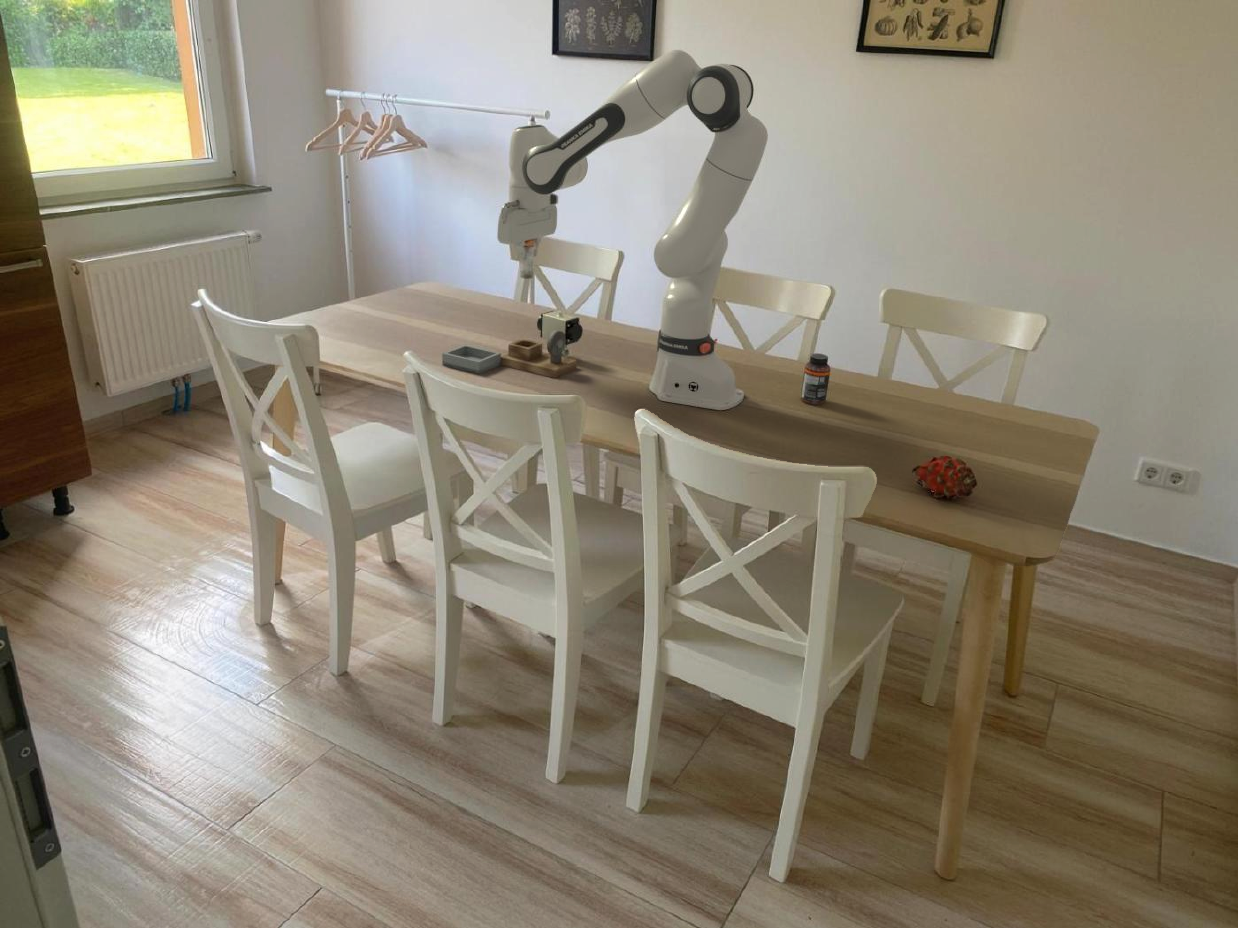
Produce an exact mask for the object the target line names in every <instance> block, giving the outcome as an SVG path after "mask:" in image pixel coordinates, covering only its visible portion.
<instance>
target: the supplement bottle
mask: <svg viewBox="0 0 1238 928" xmlns="http://www.w3.org/2000/svg"><path fill="white" fill-rule="evenodd" d="M828 359H829V356H828V355H826V354H823V353H812V354H811V355H810V358H809V362H806V364H805V366H804V372H803V378H802V384H801V392H800V400H801V401H802V402H803V403H804V404H808V405H812V406H813V405H814V406H820V405H823V404H825V403H826V400H827V397H828V396H827V395H828V387H829V382H830V375H831V367H830V365H829V364H828Z"/></svg>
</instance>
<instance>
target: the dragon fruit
mask: <svg viewBox="0 0 1238 928" xmlns="http://www.w3.org/2000/svg"><path fill="white" fill-rule="evenodd" d="M911 473H915V475H916V476H917V477H918V478H916V483H917V484H918V485H919V486H920V488H922V489H928V490H929V491H930V490H932V491H934V492H935V493H933V497H934V498H935V497H936V498H935V499H938V498H941V499H942V498H943V497H944V496H946V499H948V500H956V499H957V497H960V498H964V497H970V496H971V495H972V494H974V492H973V489H975V487H977V485H978V481H977V478H976V475H975V472H974V471H973V470H972V468H971V467H970V466H967V463H966V462H965V461H964V460H963V459H962V458H960V457H956V458H955V459H953V458H952V457H951V456H950V455H945V454H943V455H940V456H939V457H935V456H934V457H932V459H931V460H930V461H927V462H923V463H922V464H918V465H916V466H915V467H914V468H913V469H911Z"/></svg>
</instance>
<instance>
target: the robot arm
mask: <svg viewBox="0 0 1238 928" xmlns="http://www.w3.org/2000/svg"><path fill="white" fill-rule="evenodd" d="M754 92H755V91H754V83H753V80H752V78H751V76H750V74H749V73H748V72H747V71H746V70H744V69H743V68H742V67H740V66H738V65H734V64H727V63H716V64H713V65H709V66H706V67H703V68H701V67H700V65H699V64H697V62H696V60H695V59H694V58H693V57H692V56H691V55H690V54H689V53H688V52H686V51H685V50H682V49H673V50H670V51H669V52H667V53H665V54H663V55H661V56H659V57H657V58H656V59H654V60H652V61H651V62H650V63H647V64H646V65H645V66H643V67H642V68H641V69H640V70H639V71H637V72H636V73H635V74H634V75H632V76H631V77H630V78H629V79H628V80H626V82H625V83H623V84H622V85H621V86H620V87H619V88H618V89H617V90H616V91H615V92H614V93H612V95H611V96H610V97H609V98H608V99H607V100H605V101H604V102H603V103H602V104H601V105H600V106H599V107H598V108H597V109H596V110H595V111H593V113H591V114H590V115H588V116H587V117H585V119H583V120H582V121H581V122H579V123H578V124H576V125H575V126H573V128H570V130H568V131H567V132H565V133H564V134H563V135H562V136H560V137H558V136H556V135H555V134H553V133H552V132H551V131H549V130H548V128H547V127H546V126H544V125H542V124H533V125H526V126H525V125H524V126H519V127H517V128H515V129H514V130H513V131H512V132H511V136H510V141H509V154H508V160H509V161H508V166H509V169H510V179H509V182H508V201H507V202H505V203H504V205H503V207H502V208H501V210H500V213H499V214H498V215H499V216H498V222H497V236H496V237H497V238H496V239H497V240H498V242H499V244H503V245H513V246H514V249H515V251H516V259H517V260H519V261H520V260H524V259H526V258H527V256H526V255H527V252H525V251H524V247H523V246H524V245H525V241H527V240H531V239H534V258H535V257H537V256H538V249H539V247H540V244H541V242H542V241H541V238H542V237H545V236H546V237H547V236H551V235H554V234H555V232H556V230H557V225H558V208H557V205H558V203H559V195H558V194H556V193H554V192H557V191H560V190H564V189H568V188H570V187H574V186H576V185H578V184H580V183H581V182H582V181H583V180H584V179H585V178H586V175H587V173H588V168H589V167H588V166H589V164H588V163H589V162H588V158H587V157H588V156H589V155H590V154H592V153H594V152H595V151H596V150H597V149H599V148H601V147H602V146H604V145H606V144H608V143H611V142H614V141H617V140H619V139H624V138H628V137H632V136H637V135H640V134H643V133H645V132H648V131H649V130H650V129H651V130H652V129H653V128H654V127H656V126H658V125H660V124H661V123H662V122H663V121H665V120H666V119H668V118H669V117H671V116H672V115H673V114H674V113H675V112H677V111H678V110H679V109H681V108H683V107H685V106H688V108H689V110H690V111H691V113H692V114H693V115H694V117H696V118H697V119H698V120H699V121H700V122H701V123H702V124H703V125H704V126H705V127H706V128H707V129H708V130H709V131H710V132H712V133H714V136H713V137H714V138H713V141H712V144H711V146H710V148H709V150H708V153H707V155H706V157H705V159H704V161H703V164H702V166H701V168H700V170H699V173H698V175H697V177H696V178H695V181H694V184H693V186H692V188H691V190H690V192H689V193H688V195H687V196H686V199H685V200H684V202H683V203H682V205H681V206H680V208H679V209H678V210H677V212H676V214H675V216H674V217H673V219H672V220H671V223H670V224H669V225H668V228H667V229H666V230H665V232H664V234H663V235H662V236H661V237H660V238H659V240H658V241H657V242H656V245H655V247H654V250H653V258H654V259H653V261H654V264H655V265H656V268H657V269H658V271H659V272H660V273H661V274H662V275H664V276H665V277H667V278H670V280H669V283H668V286H667V289H666V292H665V294H664V296H663V299H662V300H663V301H662V313H661V324H660V329H659V331H658V336H657V337H658V338H657V342H656V343H657V348H656V350H657V351H656V352H657V358H656V359H657V360H656V364H655V367H654V372H653V375H652V377H651V380H650V384H649V386H648V388H649V390H650V392H651V393H653V394H654V395H656V396H657V398H658V400H659V401H662V402H666V403H667V402H668V403H674V404H681V405H686V406H692V407H697V408H698V407H699V408H703V409H711V410H716V411H723V410H729V409H732V408H734V407H737V406H738V405H740V404H741V402H742V401H743V400H744V397H745V394H744V391H743V390H742V389H739V388H737V387H736V377H735V373H734V370H733V369H732V368H731V367H730V366H729V365H728V364H727V363H726V362H725V361H724V360H723V359H722V358H721V357H720V356H719V355H718V354H717V353H716V351H715V345H716V344H718V338H715V339H713V338H712V337H711V335H710V334H709V328H710V321H711V320H710V319H711V310H712V303H713V298H714V293H715V290H716V285H717V282H718V279H719V276H720V271H721V266H722V264H723V263H722V262H723V260H724V257H725V254H726V252H727V250H728V245H729V239H728V235H727V233H726V231H725V230H726V228H728V226H729V224H730V222H732V220H733V218H734V217H735V216H736V215H737V213H738V211H739V209H740V207H741V205H742V203H743V201H744V199H745V197H746V195H747V193H748V191H749V189H750V186H751V185H752V182H753V180H754V179H755V176H756V174H757V172H758V169H759V167H760V165H761V161H762V159H763V156H764V152H765V151H766V146H767V143H768V138H769V137H768V136H769V134H768V129H767V128H766V126H765V124H764V123H763V122H762V121H761V120H760V119H758V118H757V117H755V116H754V115H752V114H751V113H750V112H749V110H748V108H749V107H750V105H751V104H752V101H753V97H754Z"/></svg>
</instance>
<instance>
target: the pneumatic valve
mask: <svg viewBox="0 0 1238 928" xmlns="http://www.w3.org/2000/svg"><path fill="white" fill-rule="evenodd" d="M538 317H539V318H538V320H537V321H536V327H537V329H538V331H539V334H540V336H539V337H540V338H542V339H544V340H545V339H546V340H548V338H549V336H550V334H551V332H553V331H554V330H557V331H561V332H563V333H564V334H565V337H566V343H565V347H564V350H563V352H562V357H566V358H569V355H570V349H569V345H570V344H571V345H572V344H575V343H578V342H579V340H580V339H581V338H582V336H583V326H582V325H581V324H580V323H581V322H580V318H579V316H578V317H577V316H573V315H572V314H567V313H563V311H560V310H558V311H554V310H551V311H545V312H543V313H542V312H541V313H540V315H539V316H538Z"/></svg>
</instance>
